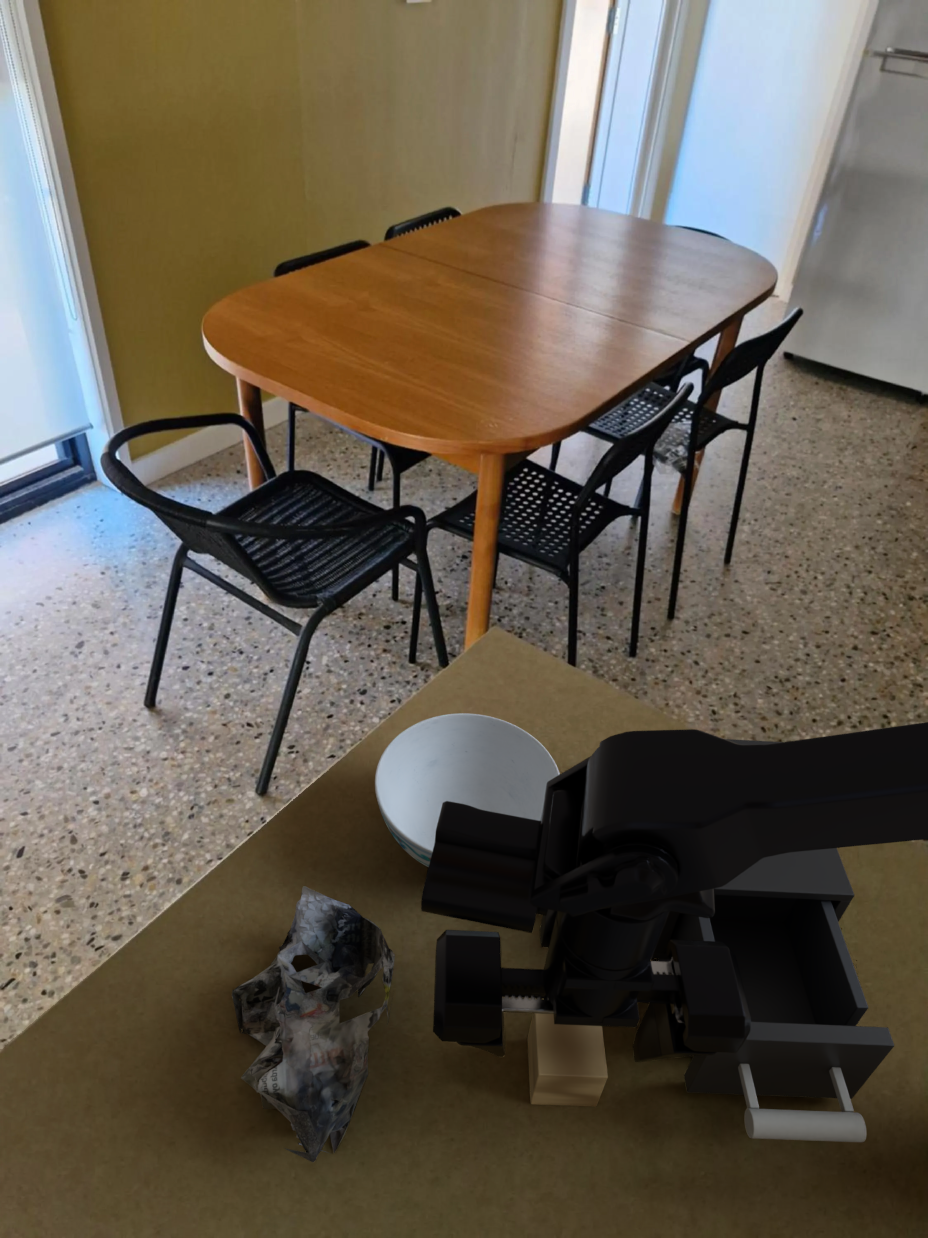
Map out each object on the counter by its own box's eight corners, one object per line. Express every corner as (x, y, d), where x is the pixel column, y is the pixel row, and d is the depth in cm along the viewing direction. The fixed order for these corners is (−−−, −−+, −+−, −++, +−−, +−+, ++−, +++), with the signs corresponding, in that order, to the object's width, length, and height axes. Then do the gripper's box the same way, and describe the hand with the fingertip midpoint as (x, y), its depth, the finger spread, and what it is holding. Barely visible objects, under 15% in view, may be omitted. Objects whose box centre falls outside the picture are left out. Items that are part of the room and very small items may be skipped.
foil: (455, 946, 64) (360, 1046, 50) (403, 1071, 66) (297, 1200, 52) (324, 869, 68) (201, 941, 54) (278, 989, 70) (148, 1089, 56)
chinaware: (494, 952, 68) (504, 894, 63) (338, 858, 73) (336, 798, 69) (579, 821, 78) (593, 762, 73) (436, 748, 84) (440, 689, 79)
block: (589, 1040, 63) (600, 1009, 60) (596, 1107, 60) (608, 1077, 57) (527, 1037, 63) (534, 1006, 60) (530, 1104, 60) (538, 1074, 57)
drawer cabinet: (812, 966, 69) (855, 895, 63) (651, 959, 68) (679, 887, 62) (764, 815, 80) (797, 742, 74) (626, 808, 80) (647, 734, 74)
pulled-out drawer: (874, 1170, 57) (922, 1119, 52) (699, 1164, 57) (730, 1112, 52) (796, 921, 71) (828, 863, 66) (654, 915, 70) (676, 855, 65)
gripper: (738, 815, 56) (683, 947, 66) (444, 800, 56) (433, 936, 65) (786, 982, 48) (715, 1106, 57) (439, 967, 47) (427, 1095, 57)
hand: (568, 1052), depth 60 cm, fingers open, 9 cm apart
